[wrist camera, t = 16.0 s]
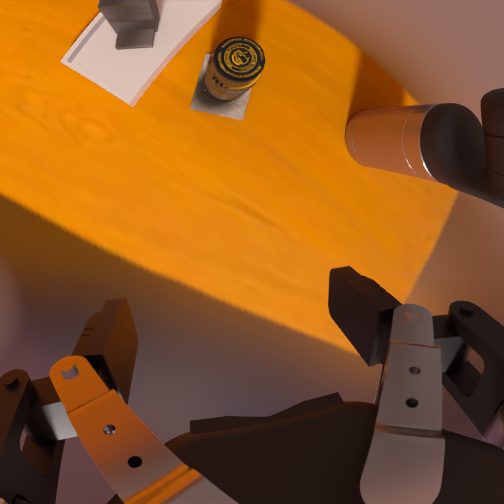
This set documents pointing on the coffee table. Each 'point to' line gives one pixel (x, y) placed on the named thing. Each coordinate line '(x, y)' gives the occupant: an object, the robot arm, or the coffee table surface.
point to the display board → (141, 59)
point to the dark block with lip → (132, 21)
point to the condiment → (229, 77)
